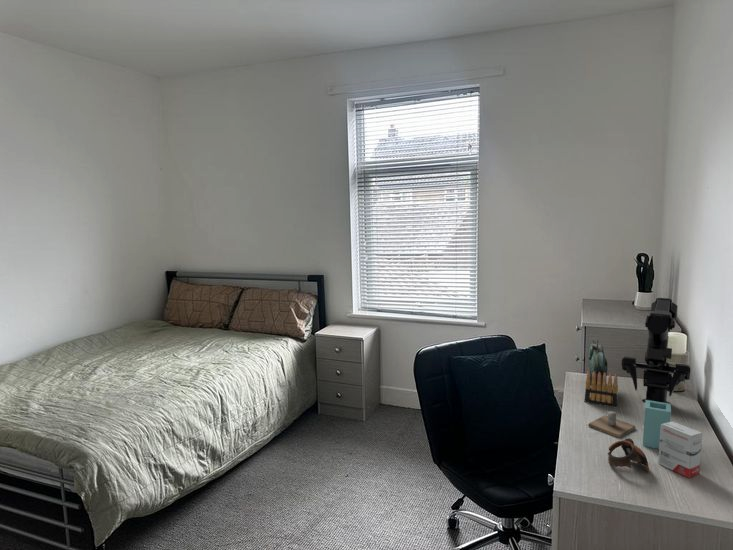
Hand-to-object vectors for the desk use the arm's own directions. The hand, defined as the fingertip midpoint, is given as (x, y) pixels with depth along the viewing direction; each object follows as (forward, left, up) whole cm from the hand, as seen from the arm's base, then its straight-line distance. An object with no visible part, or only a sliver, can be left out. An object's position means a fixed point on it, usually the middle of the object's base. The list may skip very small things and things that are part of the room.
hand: (652, 392), depth 150 cm
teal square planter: (+6, +6, -13) cm, 15 cm away
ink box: (+13, +18, -13) cm, 26 cm away
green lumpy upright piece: (-11, -31, -13) cm, 35 cm away
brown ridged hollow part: (+24, +11, -13) cm, 29 cm away
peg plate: (+9, -7, -13) cm, 17 cm away
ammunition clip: (-3, -22, -13) cm, 26 cm away
